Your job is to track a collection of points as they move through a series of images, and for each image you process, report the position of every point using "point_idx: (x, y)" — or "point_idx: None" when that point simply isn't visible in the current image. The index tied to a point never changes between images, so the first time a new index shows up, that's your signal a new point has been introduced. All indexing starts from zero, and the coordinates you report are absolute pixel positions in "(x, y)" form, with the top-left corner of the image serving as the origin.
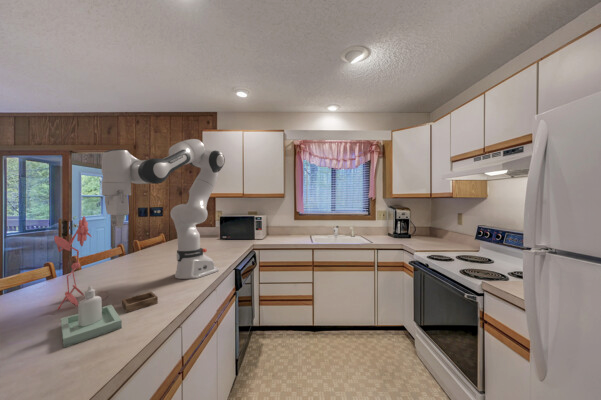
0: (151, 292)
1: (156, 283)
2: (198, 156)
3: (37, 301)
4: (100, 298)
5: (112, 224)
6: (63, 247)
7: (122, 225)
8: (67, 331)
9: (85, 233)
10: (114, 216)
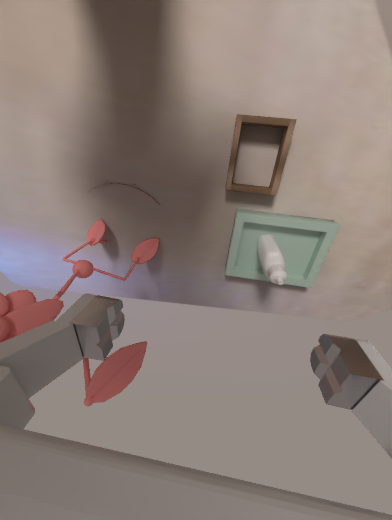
0: (245, 117)
1: (123, 48)
2: None
3: None
4: (280, 252)
5: (117, 336)
6: (140, 362)
7: (373, 357)
8: (289, 280)
9: (6, 329)
10: (21, 401)
